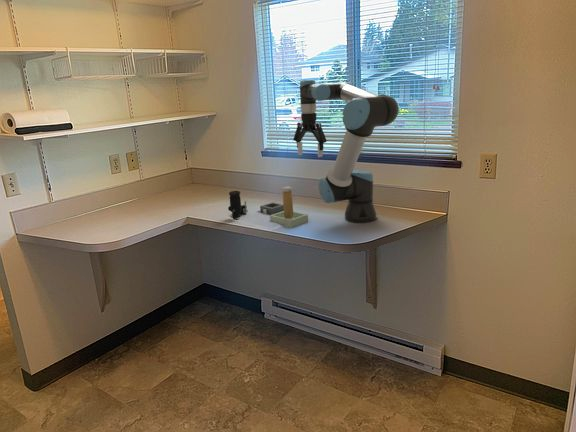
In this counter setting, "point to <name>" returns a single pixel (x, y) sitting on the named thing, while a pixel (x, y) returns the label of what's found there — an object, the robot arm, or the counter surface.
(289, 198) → the cylinder
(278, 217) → the parts tray
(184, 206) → the counter surface
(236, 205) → the scope
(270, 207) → the socket block
